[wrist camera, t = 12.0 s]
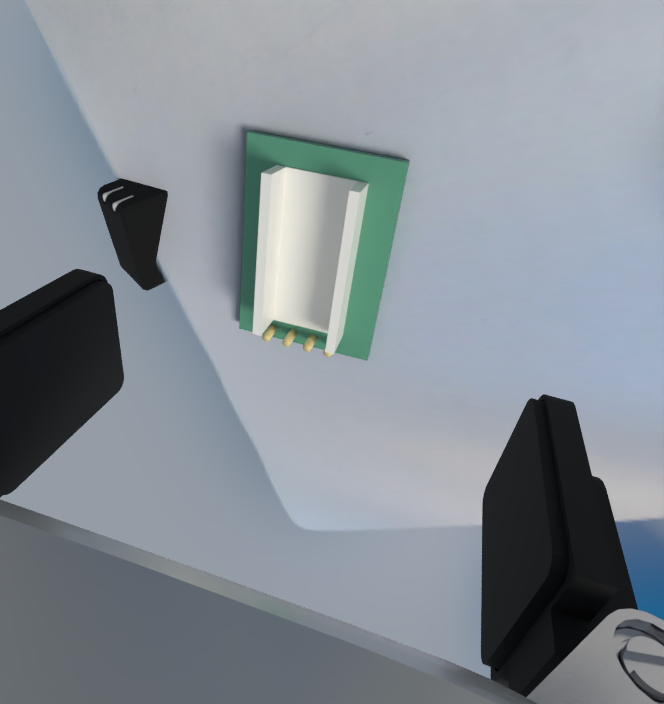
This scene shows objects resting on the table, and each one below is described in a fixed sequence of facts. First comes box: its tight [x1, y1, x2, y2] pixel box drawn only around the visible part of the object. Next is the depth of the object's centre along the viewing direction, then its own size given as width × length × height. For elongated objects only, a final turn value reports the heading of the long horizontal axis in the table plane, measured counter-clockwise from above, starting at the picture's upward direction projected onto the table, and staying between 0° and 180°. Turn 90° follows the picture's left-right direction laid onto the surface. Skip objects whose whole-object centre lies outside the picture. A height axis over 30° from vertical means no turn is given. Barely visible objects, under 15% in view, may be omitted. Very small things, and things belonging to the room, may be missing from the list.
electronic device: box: [98, 179, 168, 290], centre depth 49 cm, size 4×10×10 cm
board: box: [239, 131, 409, 360], centre depth 41 cm, size 18×13×4 cm
